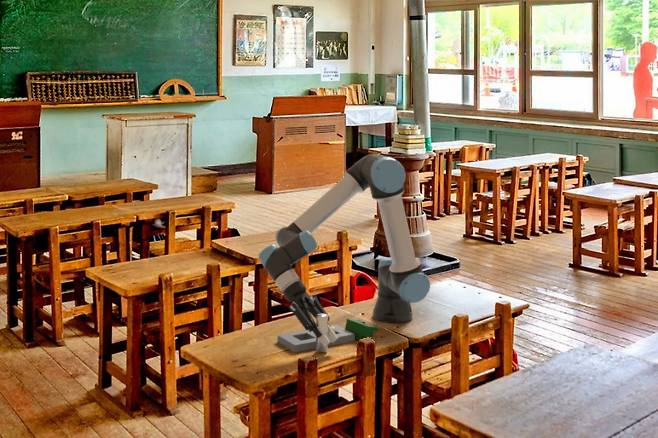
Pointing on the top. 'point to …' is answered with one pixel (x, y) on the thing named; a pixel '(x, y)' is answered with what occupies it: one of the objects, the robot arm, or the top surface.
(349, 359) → the top surface
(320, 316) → the peg
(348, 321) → the green angular block
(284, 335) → the bolt plate
